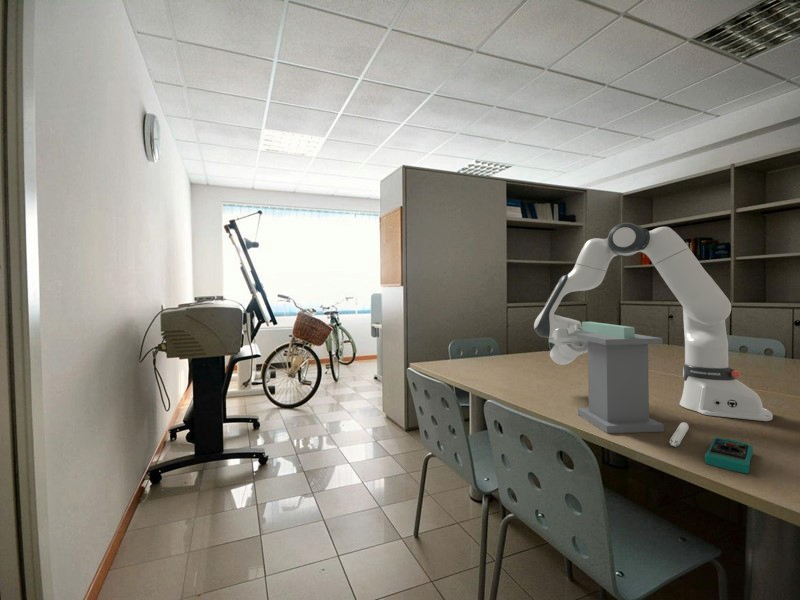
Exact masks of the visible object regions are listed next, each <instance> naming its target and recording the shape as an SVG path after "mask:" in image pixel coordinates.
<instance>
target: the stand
mask: <svg viewBox="0 0 800 600" xmlns="http://www.w3.org/2000/svg"><path fill="white" fill-rule="evenodd" d="M577 339H582V340H586V341H588V352H587V365H588V366H587V370H588V372H587V373H588V375H587V377H588V379H587V380H588V407H581V408H577V415H578V416H579V415H580V416H579V417H580V418H582V417H583V418H582V419H584V418H585V419H586V421H587V420H588V421H587V422H589V423H590V422H591V423H590V424H592V425H593V424H594V425H593V426H595V427H596V426H597V428H598V429H600V430H601V429H602V430H601V431H603V432H604V431H605V433H606V434H623V433H625V434H626V433H632V434H633V433H656V432H657V433H658V432H659V433H660V432H665V431H664V430H665V429H664V428H665V427H664V423H661V422H659V421H657V420H655V419H653V418H651V417H650V408H649V407H650V402H649V400H650V397H649V396H650V393H649V392H650V391H649V390H650V389H649V387H650V386H649V385H650V383H649V345H658V344H659V345H660V344H661V345H663V342H664V341H663V338H662V337H656V336H650V335H643V334H638V333H637V334H636V333H635V338H620V337H615V336H609V335H604V334H598V333H585V334H577ZM585 419H584V420H585Z"/></svg>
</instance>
